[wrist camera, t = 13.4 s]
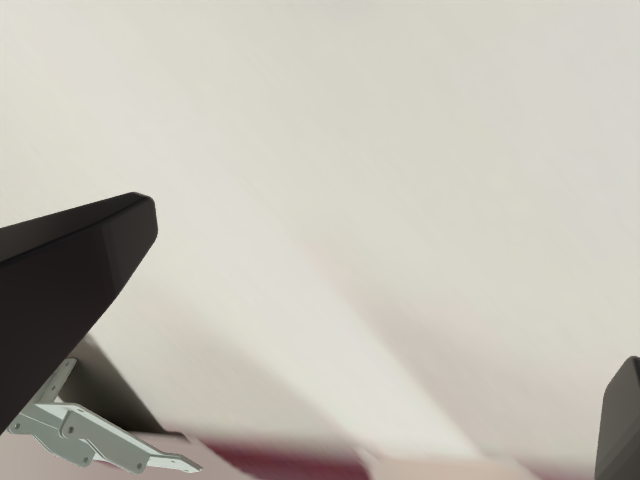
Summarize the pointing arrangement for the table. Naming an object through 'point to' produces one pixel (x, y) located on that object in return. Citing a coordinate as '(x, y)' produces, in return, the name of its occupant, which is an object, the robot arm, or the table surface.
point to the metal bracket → (87, 432)
